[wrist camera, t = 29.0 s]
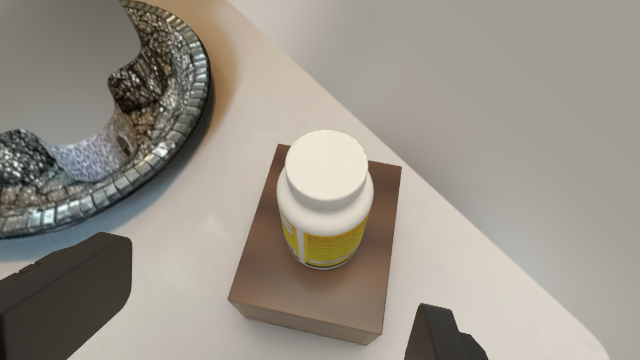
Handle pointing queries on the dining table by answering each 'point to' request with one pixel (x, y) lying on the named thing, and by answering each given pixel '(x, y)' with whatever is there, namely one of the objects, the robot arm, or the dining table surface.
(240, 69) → the dining table surface
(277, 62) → the dining table surface
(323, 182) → the pill bottle
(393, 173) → the lid
